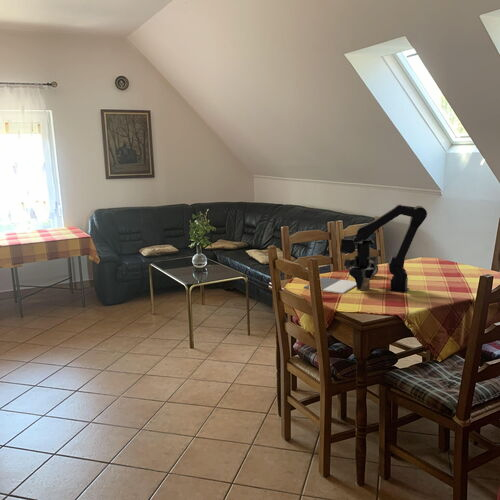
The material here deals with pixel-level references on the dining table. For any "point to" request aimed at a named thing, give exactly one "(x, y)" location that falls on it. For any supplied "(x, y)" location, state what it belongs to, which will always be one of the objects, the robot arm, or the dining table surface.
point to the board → (335, 285)
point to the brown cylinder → (365, 285)
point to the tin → (370, 261)
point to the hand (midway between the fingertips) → (363, 286)
